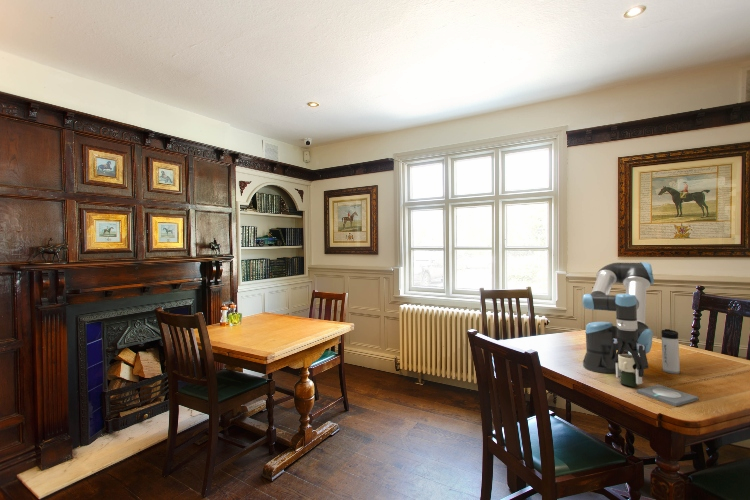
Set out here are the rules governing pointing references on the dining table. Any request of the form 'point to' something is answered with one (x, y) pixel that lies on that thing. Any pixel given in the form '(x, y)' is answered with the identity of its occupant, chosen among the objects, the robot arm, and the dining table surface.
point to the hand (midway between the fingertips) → (628, 380)
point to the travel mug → (670, 351)
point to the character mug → (627, 369)
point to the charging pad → (667, 395)
